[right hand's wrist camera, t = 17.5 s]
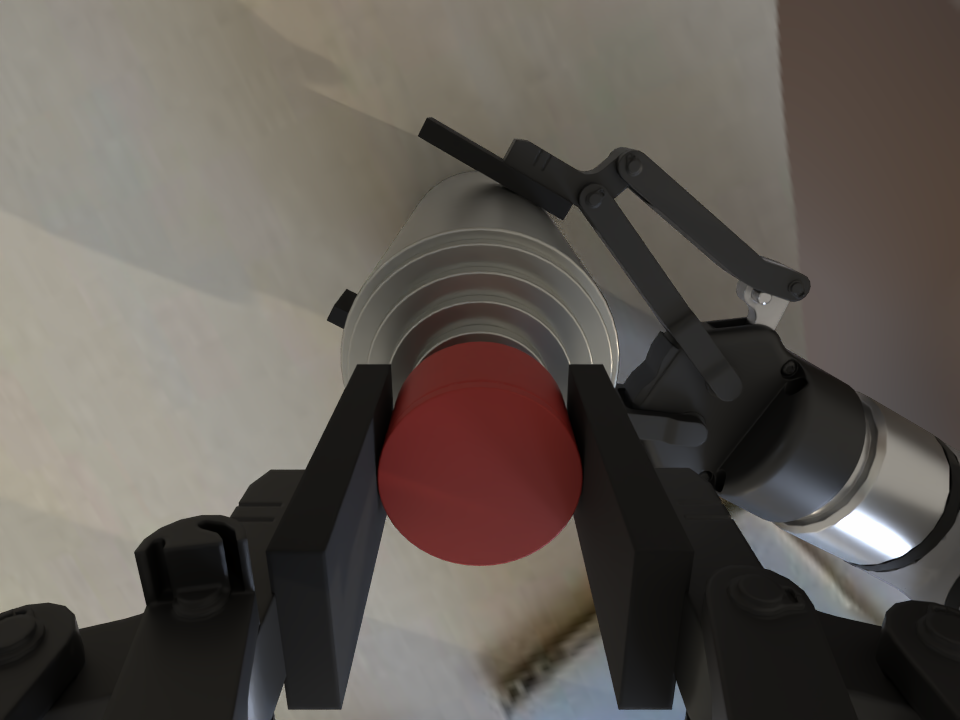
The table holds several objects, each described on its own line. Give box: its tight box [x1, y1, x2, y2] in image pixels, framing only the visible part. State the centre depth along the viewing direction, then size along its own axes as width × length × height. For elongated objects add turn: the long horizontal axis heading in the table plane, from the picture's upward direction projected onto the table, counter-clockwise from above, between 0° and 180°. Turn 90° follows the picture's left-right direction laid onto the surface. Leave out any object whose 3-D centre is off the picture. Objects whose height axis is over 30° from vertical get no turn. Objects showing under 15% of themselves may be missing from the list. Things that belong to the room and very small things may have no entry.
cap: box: [377, 341, 583, 566], centre depth 13 cm, size 4×4×3 cm
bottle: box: [341, 171, 619, 409], centre depth 23 cm, size 8×8×22 cm
